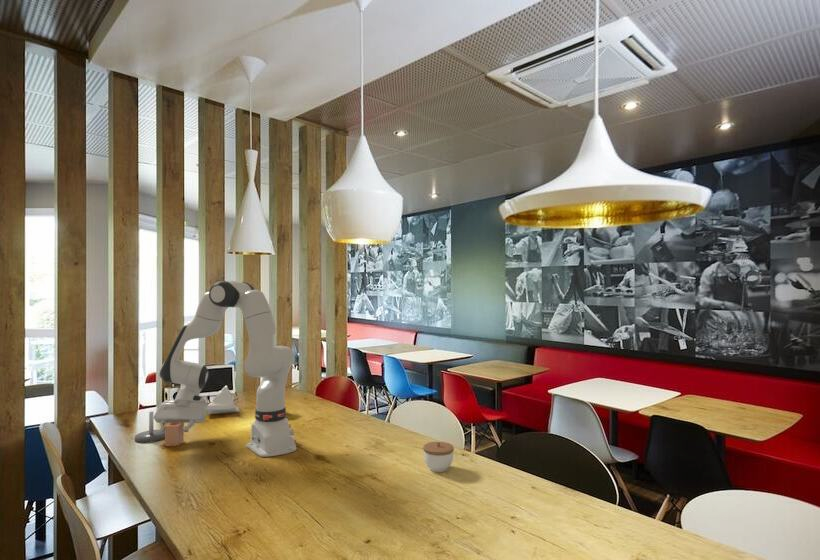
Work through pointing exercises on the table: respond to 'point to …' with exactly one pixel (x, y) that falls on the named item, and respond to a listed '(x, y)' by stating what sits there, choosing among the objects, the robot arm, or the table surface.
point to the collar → (174, 433)
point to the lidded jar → (438, 455)
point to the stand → (150, 432)
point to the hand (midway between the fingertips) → (174, 431)
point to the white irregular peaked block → (222, 403)
